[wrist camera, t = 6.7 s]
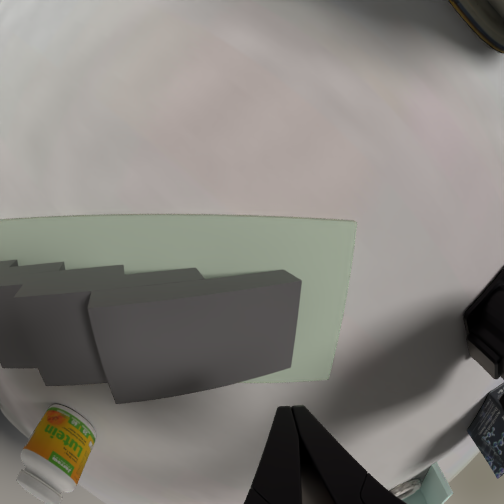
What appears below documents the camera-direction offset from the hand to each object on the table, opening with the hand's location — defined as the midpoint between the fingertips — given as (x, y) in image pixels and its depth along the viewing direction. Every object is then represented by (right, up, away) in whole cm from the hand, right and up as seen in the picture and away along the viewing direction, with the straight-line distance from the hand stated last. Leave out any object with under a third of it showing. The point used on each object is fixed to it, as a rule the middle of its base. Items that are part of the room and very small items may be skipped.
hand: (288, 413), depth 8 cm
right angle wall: (+22, -33, +19) cm, 43 cm away
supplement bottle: (-18, -11, +10) cm, 24 cm away
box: (+30, -15, +13) cm, 36 cm away
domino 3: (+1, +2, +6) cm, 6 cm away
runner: (-11, +2, +7) cm, 13 cm away
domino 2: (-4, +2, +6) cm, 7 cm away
